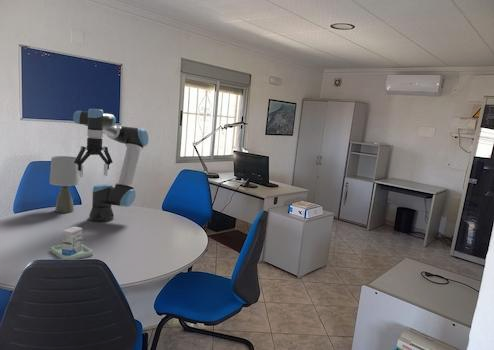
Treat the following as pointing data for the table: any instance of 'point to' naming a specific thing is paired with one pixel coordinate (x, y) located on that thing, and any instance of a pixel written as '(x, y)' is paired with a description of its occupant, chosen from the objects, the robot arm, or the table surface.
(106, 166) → the robot arm
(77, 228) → the ink box
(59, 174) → the lamp
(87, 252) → the tray
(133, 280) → the table surface
